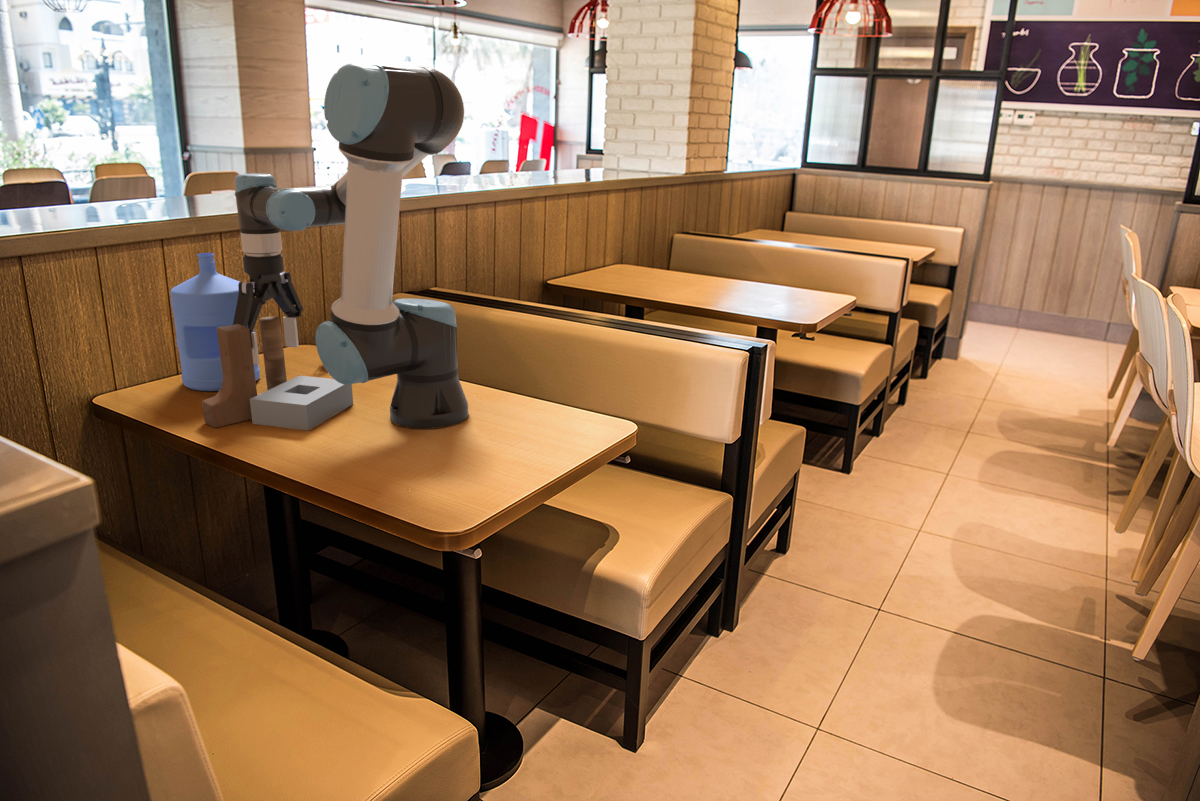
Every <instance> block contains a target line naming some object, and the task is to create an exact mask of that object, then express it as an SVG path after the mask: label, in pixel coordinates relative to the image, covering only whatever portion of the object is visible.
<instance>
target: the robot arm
mask: <svg viewBox="0 0 1200 801" xmlns="http://www.w3.org/2000/svg"><path fill="white" fill-rule="evenodd" d="M325 90H326V91H325V95H324V103H323V108H324V109H323V110H324V120H326V121H327V123H326V127H327V129H328V132H329V133H330V135H331V136H332V138H334V139H335V141H337V142H338V151H339V152H341V154H342V155H343V156H344V157H345V158H346V160H347V171H346V172H345V173H344V175H342V177H340V179H338V180H337V181H336V182H335V183H334V184H332V185H326V186H325V185H324V186H303V187H278V185H277V182H276V178H275V177H274V175H272V174H270V173H241V174H237V175H236V176H235V178H234V190H235V191H234V196H235V200H236V210H237V217H238V218H237V219H238V224H239V225H238V227H239V233H240V241H241V243H240V244H241V250H242V252H243V253H244V254H243V256H242V261H243V270H244V273H245V274H247V275H248V276H249V280H248V282H244V281H239V284H238V287H239V295H238V300H237V305H236V311H235V316H234V321H233V325H235V324H240V325H242V326H245V327H247V326H248V328H249V330H250V339H251V347H252V356H253V364H256V365H258V366H259V365H260V358H259V357H260V354H259V348H258V339H257V338H258V337H257V332H256V331H255V332H253V329H254V330H255V327H256V323H257V321H258V318H259V316H260V313H261V310H262V307H263V305H265V304H266V302H267V301H270V300H271V299H273V300H274V302H275V303H276V305H277V306H278V307H279V308H280V309H281V311H282V312H283V313H284V315H285V316H283V317H282V322H283V331H284V343H285V347H287V348H296V349H297V348H299V347H300V345H299V335H298V334H299V333H298V319H297V318H301V317H302V312H303V311H304V307H303V305H302V303H301V301H300V298H299V295H298V293H297V292H296V289H295V287H294V285H293V282H292V277H291V273H290V271H289V272H288V271H284V270H285V266H284V256H283V254H282V253H281V252H282V251H283V243H282V233H281V230H283V231H286V232H291V231H293V232H299V231H300V232H301V231H303V230H306V229H307V228H313V227H322V226H323V227H324V226H325V227H326V226H334V225H337V226H338V225H344V230H343V231H344V232H343V233H344V234H343V235H344V236H343V253H342V271H341V272H342V273H341V288H340V289H341V290H340V291H341V292H340V297H339V298H338V299H336V300H335V301H333V303H332V304H331V305H330V306H331V307H330V320H327V321H326V320H324V321H323V322H322V323H320V324H319V325H318V326H317V327H316V331H315V338H314V339H315V346H316V350H317V354H318V357H319V359H320V361H321V363H322V365H323V367H324V369H325V370H326V372H327V374H328V375H329V376H330V377H331V379H335V380H336V381H337V382H339V383H341V384H345V385H350V384H352V385H354V384H366V383H368V382H369V381H373V380H377V379H381V378H385V377H390V376H393V375H396V384H395V387H394V392H393V395H392V398H391V402H390V405H389V416H390V421H392V423H393V424H396V425H398V426H401V427H404V428H410V429H419V430H420V429H423V430H424V429H425V430H426V429H427V430H429V429H438V428H439V429H440V428H446V427H451V426H454V425H456V424H459V423H461V422H464V421H465V420H466V419H467V418H468V417H469V403H468V400H467V398H466V395H465V392H464V390H463V387H462V384H461V382H460V379H459V371H458V370H459V369H458V368H459V367H458V366H459V365H458V341H457V340H458V335H457V332H458V331H457V329H458V324H457V317H456V311H455V308H454V307H453V306H452V305H451V304H449V303H447V302H444V301H438V300H435V299H434V300H433V299H424V298H396V299H395V300H394V301H393V294H394V291H393V290H394V282H395V281H394V279H395V269H396V257H397V256H396V255H397V246H398V245H397V242H398V232H399V223H400V222H399V219H400V218H399V217H400V208H401V197H402V184H403V183H402V182H403V178H404V177H405V176H406V175H407V174H408V173H409V172H411V171H412V170H413V169H414V168H415V167H416V166H417V165H418V164H420V163H421V162H422V161H424V159H425V158H426V157H427V156H429V155H430V156H431V155H438V154H439V153H441V152H442V151H444V150H445V148H447V147H448V146H450V145H451V143H452V142H453V141H454V140H455V139H456V137H458V136H459V133H460V132H461V129H462V127H463V123H464V118H465V107H464V105H465V104H464V101H463V97H462V95H461V93H460V90H459V88H458V87H457V85H456V84H455V83H454V82H453V81H452V80H451V78H450V77H449V76H447V75H446V74H444V73H443V72H441V71H439V70H436V69H434V68H430V67H426V66H425V67H424V66H410V65H399V64H398V65H397V64H386V63H377V62H372V61H368V62H363V63H362V62H361V63H360V62H359V63H357V62H353V63H348V64H345V65H343V66H341V67H340V68H338V69H337V71H336V72H335V73H333V75H332V76H331V78H330V81H329V82H328V85H327V88H326V89H325Z"/></svg>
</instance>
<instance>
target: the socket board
mask: <svg viewBox="0 0 1200 801" xmlns="http://www.w3.org/2000/svg"><path fill="white" fill-rule="evenodd" d="M352 385H353V384H350V385H345V384H341V383H339V382H337V381H336V380H335V379H333V378H327V377H318V376H316V377H315V376H308V375H298V376H295V377H293V378H291V379H289V380H287V381H286V382H284V383H282V384H280V385H278V386H276V387H274V388H272V389H270V390H265V391H263V392H261V393H259V394H257V396H255V397H253V398H251V399H250V406H251V414H252V419H251V420H252V425H260V426H267V425H268V427H277V428H283V429H284V428H285V429H294V430H300V429H301V430H303V431H310V430H312V429H313V428H315V427H317V426H318V425H320V424H322V423H324V422H325V421H328V420H329V419H331V418H333V417H334V416H336V415H337V414H339V413H341V412H342V411H344V410H345V409H347V408H349V407H350V406H352V405H354V395H353V386H352ZM301 430H300V431H301Z"/></svg>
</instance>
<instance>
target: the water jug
mask: <svg viewBox="0 0 1200 801" xmlns="http://www.w3.org/2000/svg"><path fill="white" fill-rule="evenodd" d="M196 256H197V257H198V267H199V272H198V274H197V275H194V276H193V277H191V278H189V279H187V280H185V281H183V282H181V283H179V284H178V285H176V286H173V287H172V288H171V289H170V292H169V294H170V305H171V310H172V314H173V321H174V328H175V334H176V335H175V339H176V340H175V341H176V346H177V349H178V353H179V354H178V355H179V360H180V368H181V380H182V384H183V385H184V386H185V387H186V388H188V389H191V390H194V391H199V392H201V391H202V392H219V390H220V389H221V388H222V382H223V373H222V366H221V358H220V350H219V343H218V335H217V328H218V327H223V326H229V325H233V321H234V316H235V311H236V305H237V300H238V295H239V287H238V284H239V282H240V281H239V280H236V279H234V278H231V277H229V276H225V275H223V274H221V273H218V272H217V270H216V261H215V258H214V256H215V254H214V253H213V252H203V253H197V254H196ZM247 327H248V326H247ZM253 332H256V330H255V328H254V329H253ZM254 372H255V381H256V382H257V381H258V380H259V379H260V376H261V373H260V372H261V369H260V366H259V364H258V365H256V364H254Z"/></svg>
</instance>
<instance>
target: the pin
mask: <svg viewBox="0 0 1200 801" xmlns="http://www.w3.org/2000/svg"><path fill="white" fill-rule="evenodd" d="M281 322H282V321H281V317H278V316H266V317H265V316H263V317H260V318H259V326H260V328H259V329H260V336H261V345H262V353H263V354H262V355H263V356H262V357H263V362H264V364H263V365H264V372H265V380H266V389H267V390H270V389H272V388H274V387H276V386H278V385H280V384H282V383H284V382H286V381H288V380H287V370H286V362H285V352H284V344H283V343H284V341H283V334H282V325H281V324H282V323H281ZM267 390H266V391H267Z"/></svg>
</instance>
